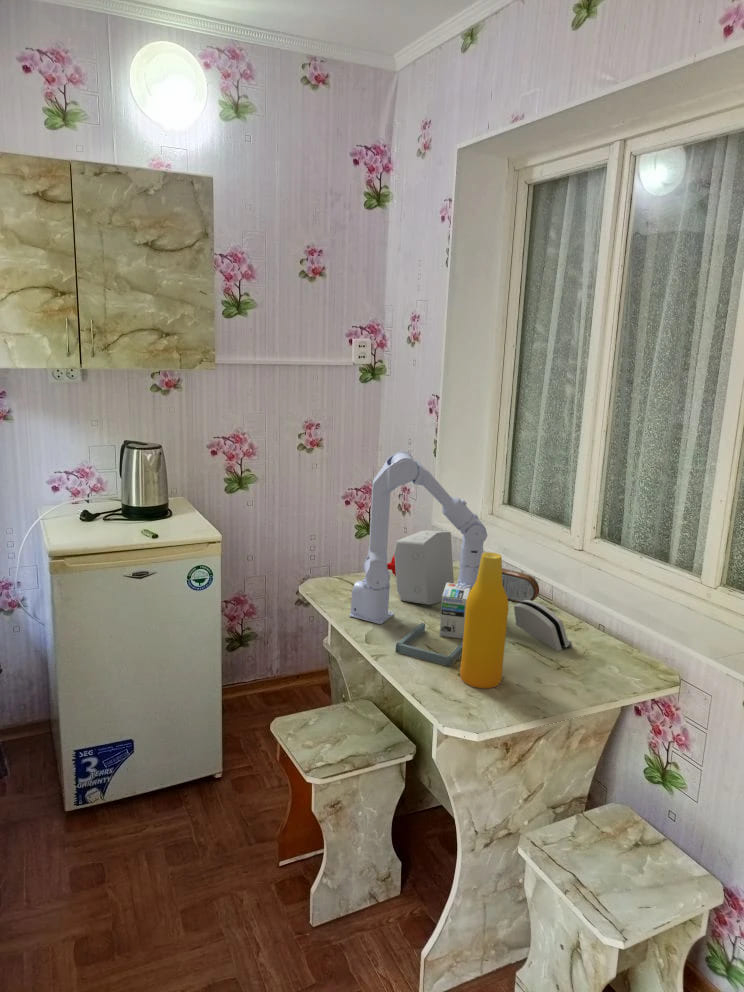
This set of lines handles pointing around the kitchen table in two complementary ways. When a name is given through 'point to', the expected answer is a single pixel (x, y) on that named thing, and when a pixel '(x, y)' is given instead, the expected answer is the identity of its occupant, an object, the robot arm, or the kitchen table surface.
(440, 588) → the electrical switch box
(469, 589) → the light bulb box
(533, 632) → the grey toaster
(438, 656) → the bay
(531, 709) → the kitchen table surface
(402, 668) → the kitchen table surface
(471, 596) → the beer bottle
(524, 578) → the tin
